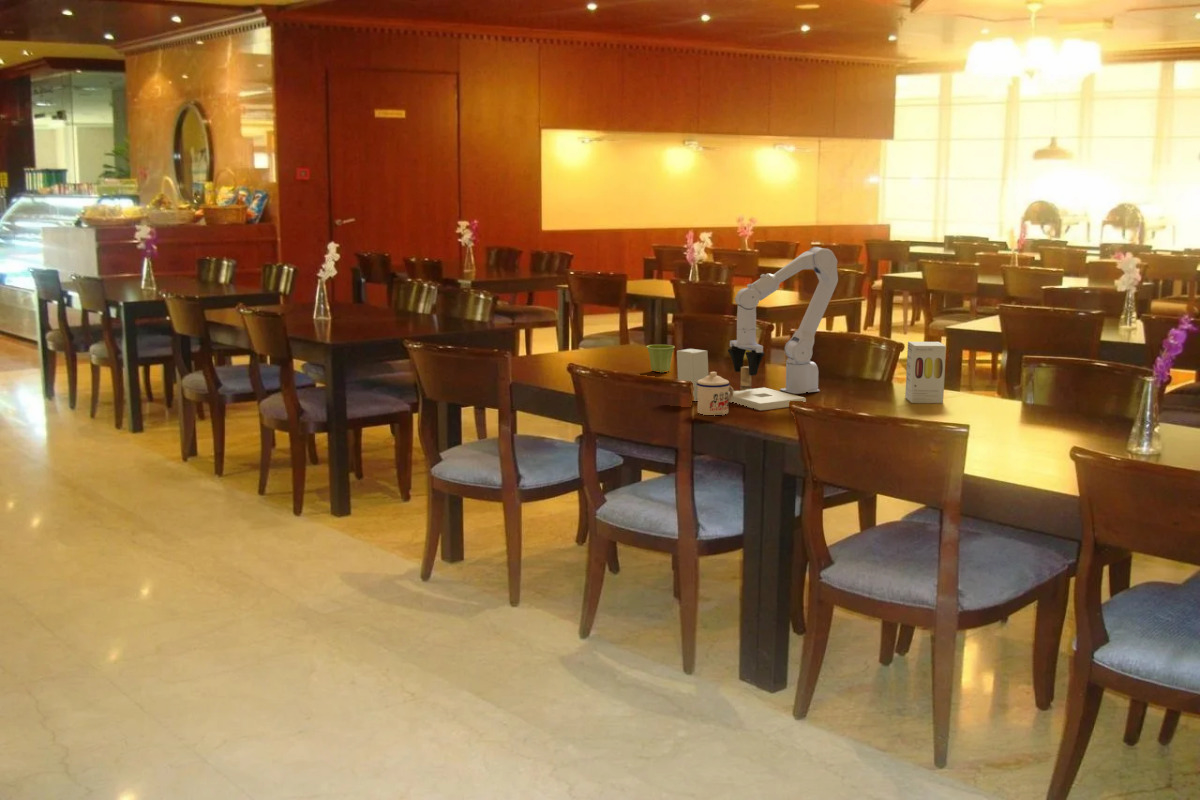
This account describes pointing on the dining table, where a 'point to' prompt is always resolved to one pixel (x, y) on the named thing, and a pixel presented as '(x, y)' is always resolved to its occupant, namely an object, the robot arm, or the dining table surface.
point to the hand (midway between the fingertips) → (745, 373)
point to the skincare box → (692, 367)
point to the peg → (745, 378)
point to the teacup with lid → (713, 395)
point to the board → (764, 398)
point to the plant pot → (660, 357)
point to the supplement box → (925, 372)
